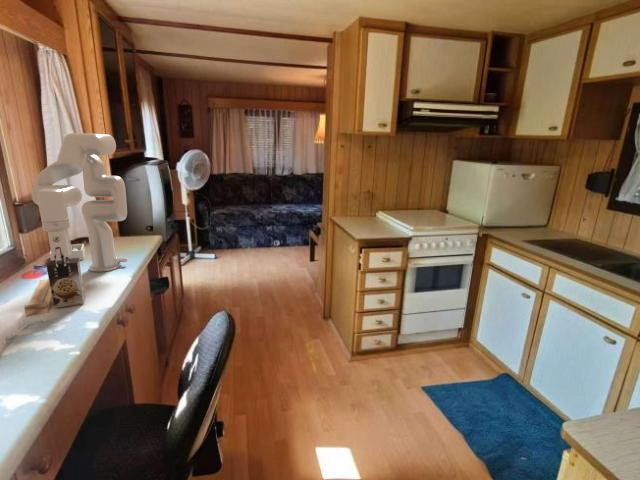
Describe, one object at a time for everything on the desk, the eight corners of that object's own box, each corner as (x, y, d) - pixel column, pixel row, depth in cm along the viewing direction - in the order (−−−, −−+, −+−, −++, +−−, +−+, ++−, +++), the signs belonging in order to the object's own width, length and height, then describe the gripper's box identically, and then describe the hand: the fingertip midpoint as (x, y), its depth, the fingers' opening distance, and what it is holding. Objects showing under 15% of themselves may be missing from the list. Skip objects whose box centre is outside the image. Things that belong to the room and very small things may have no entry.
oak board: (59, 282, 149) (57, 274, 148) (48, 313, 124) (46, 303, 123) (41, 284, 146) (39, 276, 145) (26, 316, 121) (24, 307, 120)
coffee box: (53, 308, 126) (45, 265, 121) (56, 301, 131) (48, 260, 127) (84, 303, 130) (77, 262, 125) (85, 296, 135) (79, 256, 131)
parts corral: (85, 252, 185) (83, 243, 184) (83, 259, 175) (82, 250, 174) (54, 256, 179) (53, 246, 178) (51, 263, 169) (49, 253, 168)
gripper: (66, 229, 117) (75, 280, 122) (71, 218, 131) (79, 264, 136) (38, 231, 113) (48, 283, 118) (46, 220, 128) (55, 267, 133)
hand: (65, 272), depth 127 cm, fingers closed on coffee box, 6 cm apart
